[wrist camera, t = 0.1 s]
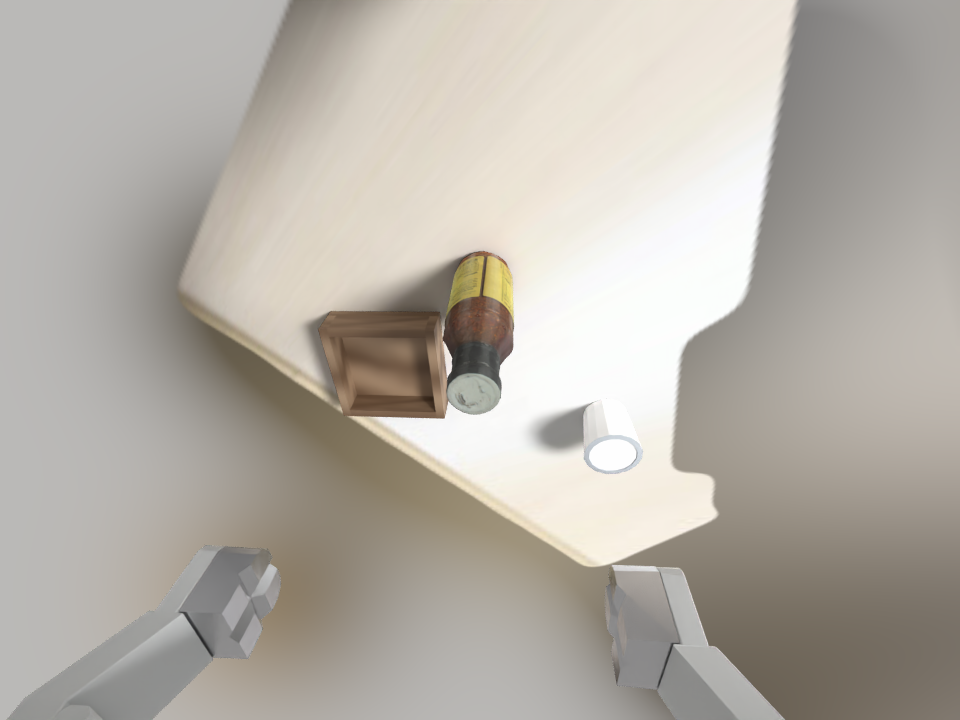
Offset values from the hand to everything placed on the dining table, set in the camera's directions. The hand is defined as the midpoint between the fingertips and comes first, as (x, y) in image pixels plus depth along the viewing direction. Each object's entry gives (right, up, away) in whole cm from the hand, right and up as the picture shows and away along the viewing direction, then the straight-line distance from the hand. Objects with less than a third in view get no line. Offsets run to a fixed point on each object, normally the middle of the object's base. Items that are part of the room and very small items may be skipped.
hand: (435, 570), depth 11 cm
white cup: (+18, -2, +48) cm, 52 cm away
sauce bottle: (+2, +14, +38) cm, 41 cm away
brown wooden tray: (-10, +5, +45) cm, 47 cm away
